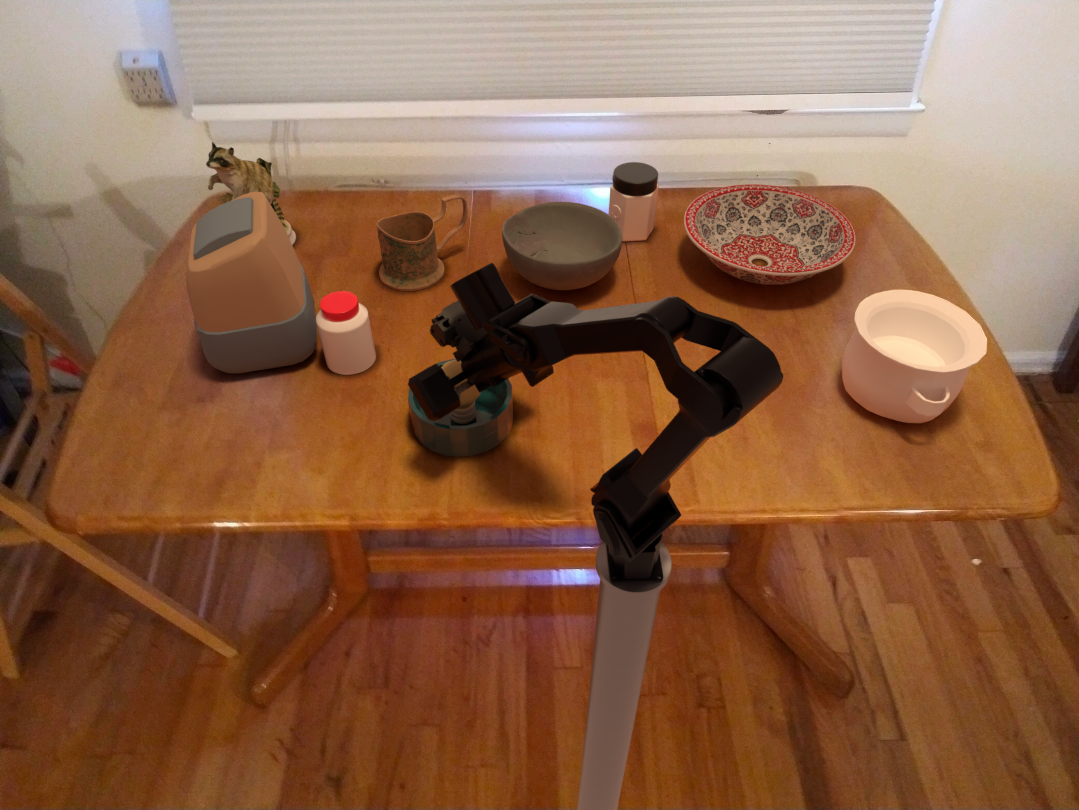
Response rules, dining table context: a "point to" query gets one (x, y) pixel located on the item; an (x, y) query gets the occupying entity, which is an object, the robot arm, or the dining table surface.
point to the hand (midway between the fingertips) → (453, 377)
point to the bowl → (562, 244)
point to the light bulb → (462, 395)
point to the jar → (634, 199)
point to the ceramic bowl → (768, 232)
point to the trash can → (249, 289)
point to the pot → (910, 354)
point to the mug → (413, 248)
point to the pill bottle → (345, 333)
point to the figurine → (245, 180)
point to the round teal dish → (471, 436)
